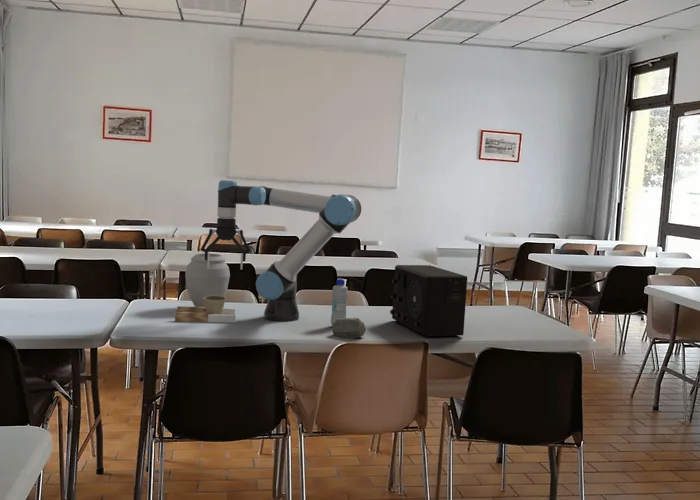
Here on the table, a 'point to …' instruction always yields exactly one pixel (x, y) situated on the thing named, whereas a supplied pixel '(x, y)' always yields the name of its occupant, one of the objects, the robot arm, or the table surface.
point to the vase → (206, 278)
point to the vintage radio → (429, 300)
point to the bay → (223, 316)
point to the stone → (349, 328)
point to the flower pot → (214, 304)
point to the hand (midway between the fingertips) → (224, 268)
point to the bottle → (339, 301)
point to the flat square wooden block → (191, 314)
